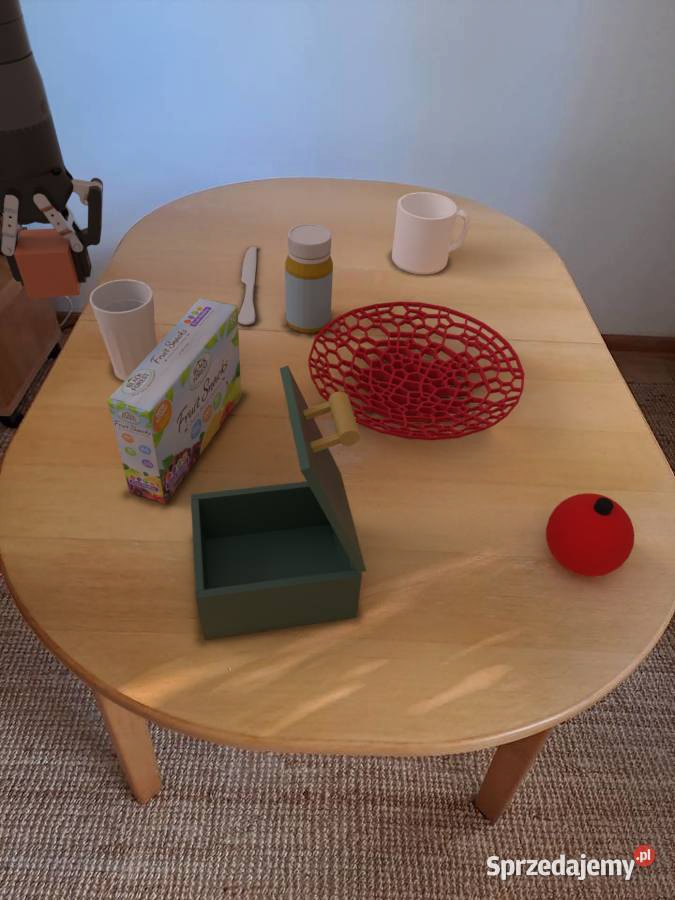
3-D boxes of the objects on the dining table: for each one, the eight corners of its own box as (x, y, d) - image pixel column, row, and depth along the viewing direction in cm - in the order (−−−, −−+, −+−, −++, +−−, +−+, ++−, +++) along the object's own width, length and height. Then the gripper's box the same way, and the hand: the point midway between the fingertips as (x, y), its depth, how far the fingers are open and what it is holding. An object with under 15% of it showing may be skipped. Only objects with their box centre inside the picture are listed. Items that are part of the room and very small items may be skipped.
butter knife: (235, 323, 103) (254, 323, 104) (245, 245, 120) (261, 245, 120) (235, 325, 104) (254, 325, 104) (245, 247, 120) (261, 247, 121)
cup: (172, 353, 98) (160, 281, 90) (156, 388, 93) (142, 315, 84) (118, 348, 99) (101, 276, 90) (100, 383, 93) (80, 310, 85)
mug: (389, 271, 117) (395, 215, 110) (393, 243, 124) (400, 189, 117) (461, 279, 116) (472, 224, 109) (461, 251, 123) (472, 197, 116)
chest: (203, 640, 67) (195, 597, 61) (198, 539, 75) (190, 494, 70) (356, 617, 69) (362, 575, 64) (334, 522, 78) (337, 477, 72)
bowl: (347, 311, 108) (349, 284, 104) (530, 355, 102) (538, 328, 98) (274, 429, 88) (273, 400, 85) (495, 492, 82) (504, 464, 79)
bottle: (278, 328, 104) (276, 239, 93) (296, 305, 109) (297, 218, 98) (320, 340, 102) (323, 250, 92) (336, 316, 107) (341, 228, 96)
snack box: (170, 507, 78) (150, 412, 68) (127, 494, 79) (101, 398, 69) (245, 396, 93) (238, 303, 82) (208, 386, 94) (197, 293, 83)
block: (34, 272, 73) (21, 229, 69) (82, 270, 73) (71, 227, 70) (28, 298, 69) (13, 254, 66) (79, 295, 70) (67, 251, 66)
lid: (300, 470, 52) (361, 448, 51) (279, 368, 60) (331, 348, 60) (358, 573, 63) (408, 556, 63) (334, 476, 72) (377, 460, 72)
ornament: (558, 514, 80) (584, 457, 73) (630, 555, 76) (664, 499, 69) (522, 561, 75) (546, 504, 68) (597, 608, 71) (630, 553, 64)
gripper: (92, 94, 62) (126, 258, 75) (-73, 97, 60) (-11, 266, 72) (86, 125, 57) (124, 296, 70) (-95, 129, 55) (-24, 305, 67)
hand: (55, 280), depth 71 cm, fingers closed on block, 5 cm apart
